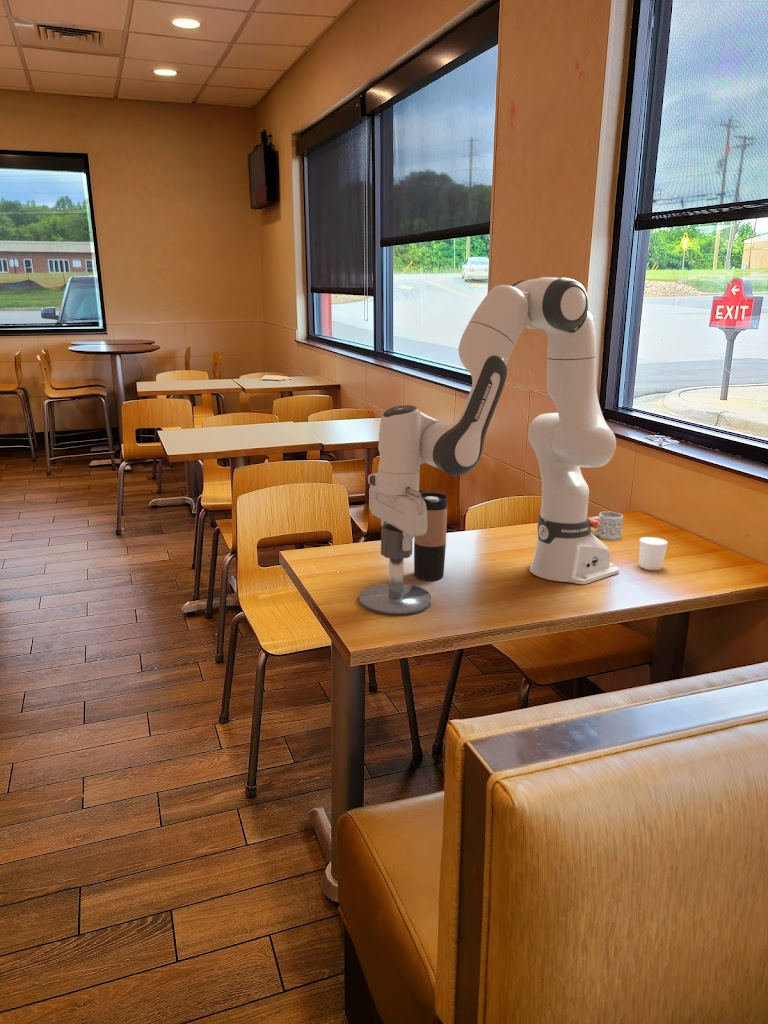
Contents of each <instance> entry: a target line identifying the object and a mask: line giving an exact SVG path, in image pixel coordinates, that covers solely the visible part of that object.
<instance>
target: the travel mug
mask: <svg viewBox="0 0 768 1024" xmlns="http://www.w3.org/2000/svg"><path fill="white" fill-rule="evenodd" d="M420 493H421V492H420ZM421 497H422V499H423V500H424V501H425V503H426V508H427V532H426V534H425V535H422V536H414V538H413V567H414V568H413V574H414V578H416V579H418V580H421V581H427V582H433V581H434V582H435V581H438V580H442V579H443V578H444V572H445V562H446V561H445V560H446V559H445V558H446V550H447V549H446V547H447V524H448V518H447V517H448V496H447V495H446V494H443V493H437V492H422V493H421Z"/></svg>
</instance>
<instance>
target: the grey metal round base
mask: <svg viewBox="0 0 768 1024" xmlns="http://www.w3.org/2000/svg"><path fill="white" fill-rule="evenodd" d="M404 561H405V558H403V559H392V558H388V583H387V582H386V583H378V584H373V585H371V586H368V587H366V588H364V589H362V590H361V591H360V593H359V600H358V601H359V604H360V606H361V607H362V608H363V609H365V610H366V611H367V610H368V611H369V612H372V613H375V614H380V615H386V616H409V615H410V616H411V615H415V614H419V613H422V612H424V611H426V610H428V609H429V608H430V607H431V605H432V595H431V593H430V592H429V591H428V590H426V589H424V588H422V587H420V586H416V585H413V584H409V583H408V584H407V583H404Z"/></svg>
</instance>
